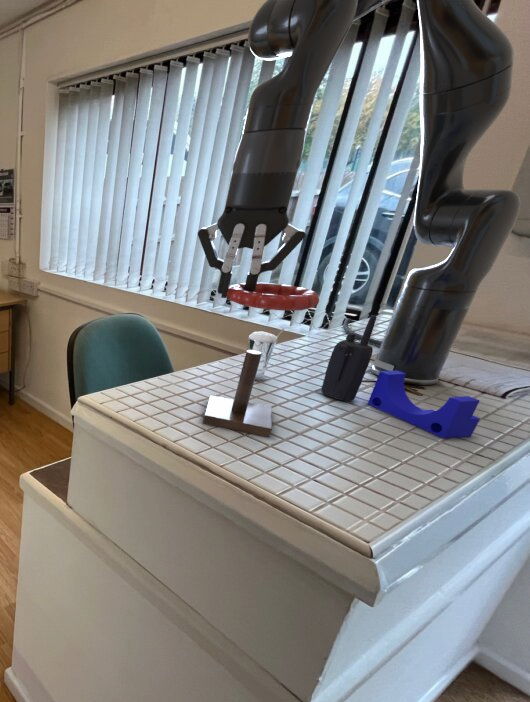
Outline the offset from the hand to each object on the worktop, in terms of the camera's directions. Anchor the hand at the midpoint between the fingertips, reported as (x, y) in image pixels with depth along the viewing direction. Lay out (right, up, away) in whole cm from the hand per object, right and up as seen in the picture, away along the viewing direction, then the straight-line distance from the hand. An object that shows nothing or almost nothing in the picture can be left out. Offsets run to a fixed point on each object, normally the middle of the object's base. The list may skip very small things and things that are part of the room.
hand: (233, 297), depth 69 cm
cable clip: (+32, -19, +4) cm, 37 cm away
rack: (+4, -19, +6) cm, 20 cm away
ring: (+4, 0, -3) cm, 5 cm away
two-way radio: (+26, -15, +12) cm, 32 cm away
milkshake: (+18, -12, +22) cm, 30 cm away
